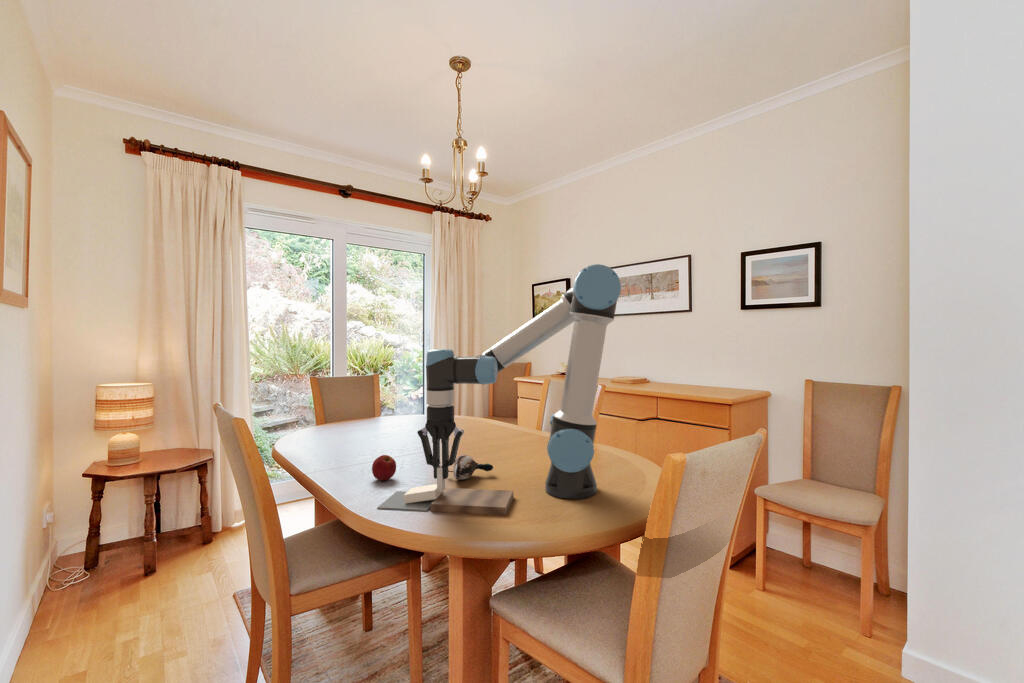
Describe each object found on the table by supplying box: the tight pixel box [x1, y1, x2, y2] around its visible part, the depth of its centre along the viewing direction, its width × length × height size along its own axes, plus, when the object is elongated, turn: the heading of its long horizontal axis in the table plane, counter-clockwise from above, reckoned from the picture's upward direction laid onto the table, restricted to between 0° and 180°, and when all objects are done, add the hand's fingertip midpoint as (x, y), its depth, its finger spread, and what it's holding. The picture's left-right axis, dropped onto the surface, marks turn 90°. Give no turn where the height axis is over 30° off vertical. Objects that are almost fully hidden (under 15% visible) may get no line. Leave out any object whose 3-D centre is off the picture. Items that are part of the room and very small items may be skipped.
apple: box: [371, 454, 397, 482], centre depth 148 cm, size 8×8×8 cm
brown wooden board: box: [430, 487, 514, 516], centre depth 125 cm, size 20×13×2 cm, turn 81°
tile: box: [404, 483, 442, 504], centre depth 128 cm, size 9×6×2 cm, turn 81°
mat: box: [376, 490, 435, 512], centre depth 128 cm, size 14×13×1 cm
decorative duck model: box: [448, 454, 494, 481], centre depth 147 cm, size 15×8×15 cm
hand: (441, 490), depth 127 cm, fingers closed
